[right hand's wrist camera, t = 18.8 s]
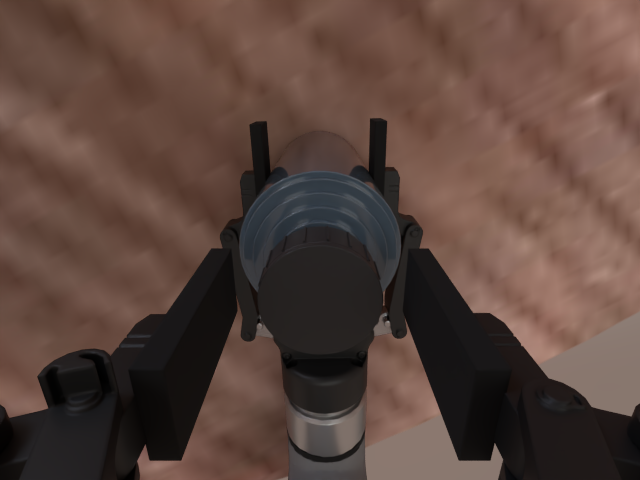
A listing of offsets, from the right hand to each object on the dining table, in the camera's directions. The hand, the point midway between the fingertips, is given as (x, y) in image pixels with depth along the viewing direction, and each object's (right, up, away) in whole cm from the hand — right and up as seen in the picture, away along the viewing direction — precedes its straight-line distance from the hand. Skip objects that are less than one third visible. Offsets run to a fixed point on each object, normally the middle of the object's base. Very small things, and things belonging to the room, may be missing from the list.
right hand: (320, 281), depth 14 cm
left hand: (0, +10, +11) cm, 15 cm away
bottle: (0, +7, +18) cm, 20 cm away
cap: (0, 0, -1) cm, 1 cm away
